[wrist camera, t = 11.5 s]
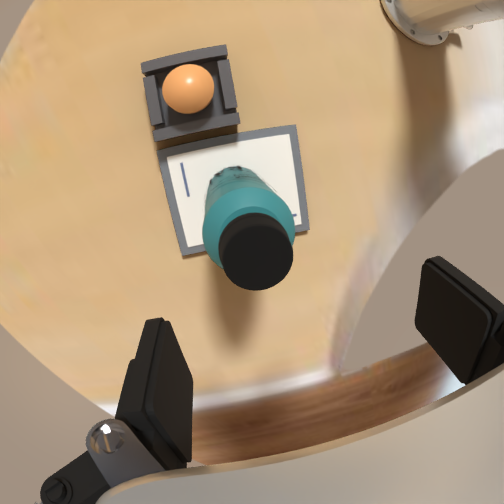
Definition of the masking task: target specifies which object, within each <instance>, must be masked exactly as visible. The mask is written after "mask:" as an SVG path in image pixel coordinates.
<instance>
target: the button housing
mask: <svg viewBox="0 0 504 504" xmlns="http://www.w3.org/2000/svg"><path fill="white" fill-rule="evenodd" d="M227 56H228V53H227V47H226V45H219V46H213V47H207V48H202V49H197V50H192V51H187V52H182V53H178V54H173V55H169V56H165V57H161V58H157V59H154V60H150V61H146V62H143V63H141V69H142V73H143V74H144V75H145V76H146V77H145V78H143V81H144V87H145V93H146V99H147V104H148V110H149V115H150V120H151V125H152V126H155V129H156V130H154V131H153V136H154V141H155V142H157V141H162V140H166V139H170V138H175V137H179V136H183V135H187V134H192V133H197V132H201V131H206V130H211V129H216V128H221V127H227V126H232V125H238V124H240V118H239V113H237V111H236V108H237V102H236V96H235V91H234V85H233V80H232V74H231V69H230V63H229V59H228V60H227ZM187 64H193V65H198V66H201V67H203V68H204V69H206V70H207V71H208V72H209V73H210V75H211V76H212V79H213V82H214V94H213V98H212V100H211V102H210V104H209V105H208V106H207V107H206V108H205V109H203V110H202V111H200V112H198V113H195V114H182V113H179V112H177V111H175V110H174V109H172V108H171V107H170V106H169V105H168V104H167V103H166V102H165V100H164V97H163V94H162V87H163V83H164V80H165V78H166V77H167V75H168V74H169V73H170V72H171V71H172V70H174V69H175V68H177V67H179V66H182V65H187Z"/></svg>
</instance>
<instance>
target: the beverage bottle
mask: <svg viewBox="0 0 504 504" xmlns="http://www.w3.org/2000/svg"><path fill="white" fill-rule="evenodd" d="M244 167H245V166H244ZM244 167H240V166H237V165H236V166H234V165H233V166H232V167H229V166H228V167H227V168H224V169H223V170H221V171H219V172H217V173H216V174H214V177H213V178H211V180H210V181H209V186H208V189H207V196H206V197H205V198H206V199H205V198H204V199H205V200H206V202H204V203H205V206H204V208H205V215H204V216H203V217H204V221H203V227H202V238H203V243H204V247H205V249H206V252H207V253H208V255H209V257H210V258H211V259H212V260H213V261H214V262H215V263H216V264H217V265H218V266H219V267H221V268H222V269H224V271H225V273H226V275H227V276H228V278H229V279H230V280H231V281H232V282H233V283H234V284H236V285H237V286H239V287H241V288H244V289H247V290H264V289H268V288H270V287H273V286H275V285H276V284H278V283H279V282H280V281H282V280H283V279H284V278H285V276H286V275H287V274H288V272H289V270H290V268H291V266H292V262H293V248H292V245H293V242H294V238H295V222H294V218H293V215H292V213H291V211H290V209H289V207H288V206H287V204H286V203H285V202H284V201H283V200H282V199H281V198H280V197H279V196H278V195H276V193H275V192H274V191H273V190H272V189H271V188H270V187H269V186H267V185H266V184H265V183H266V182H263V180H264V179H263V178H262V180H261V179H260V178H259V176H257V174H256V173H254V172H255V171H254V172H252V170H251V169H250V170H249V169H247V168H244ZM264 181H265V180H264ZM267 184H268V183H267ZM206 188H207V187H206ZM273 189H274V188H273ZM274 190H275V189H274ZM275 191H276V190H275Z"/></svg>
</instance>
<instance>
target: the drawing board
mask: <svg viewBox="0 0 504 504" xmlns="http://www.w3.org/2000/svg"><path fill="white" fill-rule="evenodd" d="M157 155H158V159H159V164H160V169H161V173H162V177H163V182H164V186H165V190H166V195H167V199H168V203H169V207H170V211H171V215H172V219H173V223H174V227H175V231H176V235H177V238H178V242H179V246H180V249H181V253H182V256H184V255H189V254H193V253H198V252H203V251H206V249H205V247H204V243H203V238H202V227H203V221H204V217H203V216H204V215H205V208H204V206H205V203H204V202H206V200H205V199H206V198H205V197H206V196H207V189H208V186H209V181H210V180H211V178H213V177H214V174H216V173H217V172H219V171H221V170H223V169H224V168H227V167H228V166H229V167H232V166H233V165H234V166H236V165H237V166H240V167H244V166H245V167H244V168H247V169H249V170H250V169H251V170H252V172H254V171H255V172H254V173H256V174H257V176H259V178H260V179H261V180H262V178H263V179H264V180H265V181H264V180H263V182H266V183H265V184H266V185H267V186H269V187H270V188H271V189H272V190H273V191H274V192H275V193H276V195H278V196H279V197H280V198H281V199H282V200H283V201H284V202H285V203H286V204H287V206H288V207H289V209H290V211H291V213H292V215H293V218H294V222H295V233H296V232H301V231H306V230H310V229H309V219H308V210H307V202H306V194H305V186H304V178H303V170H302V163H301V156H300V149H299V142H298V135H297V129H296V125H288V126H280V127H273V128H266V129H259V130H253V131H247V132H241V133H235V134H230V135H225V136H219V137H214V138H209V139H204V140H200V141H195V142H191V143H186V144H182V145H178V146H173V147H169V148H165V149H161V150H157ZM267 183H268V184H267ZM206 187H207V188H206ZM273 188H274V189H275V190H276V191H275V190H274V189H273ZM204 198H205V199H204Z"/></svg>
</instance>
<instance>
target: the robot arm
mask: <svg viewBox="0 0 504 504" xmlns="http://www.w3.org/2000/svg"><path fill="white" fill-rule="evenodd" d="M381 3H382V5H383V8H384V10H385V12H386V13H387V15H388V17H389V18H390V20H391V21H392V22H393V24H394V25H395V26H396V27H397V28H398V29H399V30H400V31H401V32H402V33H403V34H404V35H406V36H407V37H408V38H410V39H411V40H413V41H415V42H417V43H419V44H423V45H429V46H432V45H437V44H440V43H442V42H443V41H445V40H446V38H447V37H448V34H449V30H453V29H457V28H461V27H464V28H467V29H472V28H473V25H474V24H479V23H484V22H489V21H494V20H500V19H504V0H381ZM415 326H416V328H417V330H418V331H419V332H420V333H421V334H422V336H423V337H424V338H425V339H426V340H427V342H428V343H429V344H430V345H431V346H432V348H433V349H434V350H435V351H436V352H437V354H438V355H439V356H440V357H441V359H442V360H443V361H444V362H445V363H446V365H447V366H448V367H449V368H450V370H451V371H452V372H453V373H454V375H455V376H456V377H457V379H458V380H459V381H460V382H461V383H464V384H465V385H466V386H464V387H462V388H460V389H458V390H456V391H455V392H453V393H451V394H449V395H447V396H445V397H443V398H441V399H439V400H437V401H435V402H433V403H430V404H428V405H426V406H424V407H422V408H420V409H417V410H415V411H413V412H411V413H408V414H406V415H404V416H401V417H399V418H396V419H394V420H391V421H389V422H386V423H384V424H381V425H378V426H376V427H373V428H370V429H367V430H364V431H361V432H358V433H355V434H352V435H349V436H346V437H343V438H340V439H336V440H333V441H330V442H326V443H323V444H319V445H315V446H311V447H307V448H303V449H299V450H295V451H291V452H286V453H281V454H276V455H271V456H266V457H261V458H255V459H250V460H244V461H237V462H231V463H223V464H215V465H207V466H199V467H191V468H187V462H191V460H192V406H193V378H192V375H191V372H190V370H189V368H188V365H187V363H186V361H185V358H184V356H183V353H182V351H181V349H180V346H179V344H178V341H177V339H176V336H175V334H174V331H173V328H172V326H171V323H170V322H169V321H165V320H164V319H163V318H162V317H161V318H155V319H149V320H146V322H145V325H144V328H143V332H142V335H141V339H140V342H139V346H138V349H137V353H136V356H135V359H132V360H131V361H130V363H129V365H128V369H127V373H126V376H125V380H124V384H123V387H122V391H121V395H120V399H119V403H118V407H117V411H116V415H115V419H107V420H103V421H101V422H98V423H97V424H96V425H94V426H93V427H92V428H91V430H90V431H89V432H88V435H87V437H86V447H87V451H86V452H85V453H83V454H82V455H80V456H79V457H78V458H76V459H75V460H73V461H72V462H70V463H69V464H68V465H66V466H65V467H63V468H62V469H60V470H59V471H57V472H56V473H54V474H53V475H52V476H50V477H49V478H48V479H46V480H45V482H44V483H43V485H42V487H41V491H40V494H41V495H40V496H41V500H42V502H41V503H40V504H504V305H503V304H502V303H501V302H500V301H499V300H497V299H496V298H495V297H494V296H492V295H491V294H490V293H489V292H487V291H486V290H485V289H484V288H482V287H481V286H480V285H478V284H477V283H476V282H475V281H473V280H472V279H471V278H469V277H468V276H467V275H465V274H464V273H463V272H461V271H460V270H459V269H457V268H456V267H454V266H453V265H452V264H450V263H449V262H448V261H446V260H445V259H443V258H442V257H440V256H436V257H432V258H429V259H427V260H426V261H425V263H424V264H423V265H422V271H421V279H420V287H419V295H418V302H417V309H416V316H415ZM35 504H38V503H36V502H35Z"/></svg>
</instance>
